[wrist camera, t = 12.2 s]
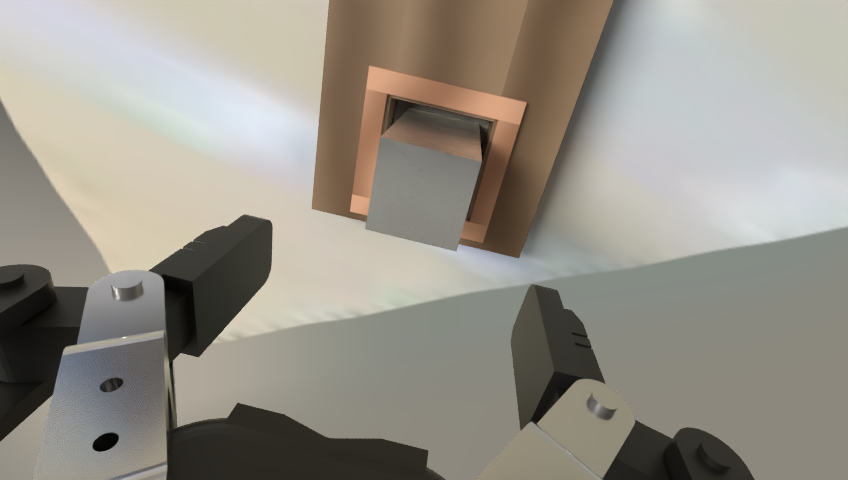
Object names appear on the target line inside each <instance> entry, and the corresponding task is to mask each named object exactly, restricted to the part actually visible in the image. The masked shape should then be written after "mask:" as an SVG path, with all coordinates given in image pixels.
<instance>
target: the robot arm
mask: <svg viewBox="0 0 848 480" xmlns="http://www.w3.org/2000/svg"><path fill="white" fill-rule="evenodd" d="M271 262H272V223H271V221H270V220H266V219H262V218H258V217H254V216H249V215H243V216H241V217H240V218H238V219H237V220H235V221H234V222H233V223H231V224H230V225H229V226H227V227H226V226H221V227H218V228H215V229H212V230H209V231H206V232H204V233H203V234H201V235H200V236H198V237H197V238H196V239H194V241H193V242H190V243H188V244H187V245H185V246H184V247H183V249H179V250H178V251H177V252H175V253H174V254H172V255H171V256H169V257H168V258H166V259H165V260H163V261H162V262H161V263H159V264H158V265H156V266H155V267H153V268H152V269H150V270H149V271H144V270H128V271H121V272H116V273H113V274H110V275H107V276H104V277H103V278H100V279H99V280H97V281H96V282H94V283H93V284H92V285H91V286H90V287H89V288H87V287H54V285H53V281H52V278H51V274H50V272H49V271H48V270H47V269H45V268H43V267H40V266H36V265H25V264H24V265H8V266H2V267H0V441H1V440H2V439H4V438H5V437H6V436H7V435H8V434H9V433H10V432H11V431H12V430H14V429H15V428H16V427H17V426H18V425H19V424H20V423H21V422H23V421H24V420H25V419H26V418H27V417H28V416H29V415H30V414H32V413H33V412H34V411H35V410H36V409H37V408H38V407H39V406H41V405H42V404H43V403H44V402H45V401H46V400H47V399H48V398H49V397H51V396H52V395H53V396H52V400H51V404H50V409H49V413H48V418H47V421H46V426H45V430H44V434H43V438H42V442H41V447H40V451H39V456H38V460H37V464H36V468H35V473H34V476H33V480H445V479H444V478H443V477H441V476H440V475H438V474H437V473H436V472H434V471H433V470H431V469H429V468H427V467H426V466H427V457H428V450H424V449H420V448H416V447H412V446H408V445H404V444H400V443H396V442H392V441H388V440H384V439H334V438H333V439H332V438H327V437H325V436H323V435H321V434H319V433H317V432H315V431H313V430H312V429H309V428H308V427H306V426H304V425H302V424H300V423H299V422H297V421H295V420H293V419H291V418H290V417H288V416H286V415H284V414H280V413H276V412H272V411H268V410H264V409H260V408H256V407H252V406H248V405H244V404H240V403H237V405H236V406H235V408H234V409H233V411H232V412H231V414H230V415H229V416H228V418H219V419H209V420H203V421H198V422H194V423H191V424H187V425H184V426H181V427H178V428H177V413H176V394H175V375H174V363H173V360H174V359H175V358H176V357H177V356H178V355H179V354H180V353H184V354H187V355H192V356H195V357H199V356H200V355H201V354H202V353H203V352H204V351H205V350H206V348H207V347H208V346H209V345H210V344H211V343H212V342H213V341H214V340H215V338H216V337H217V336H218V335H219V334H220V333H221V332H222V331H223V330H224V328H225V327H226V326H227V325H228V324H229V323H230V322H231V321H232V319H233V318H234V317H235V316H236V315H237V314H238V313H239V312H240V311H241V309H242V308H243V307H244V306H245V305H246V304H247V303H248V302H249V300H250V299H251V298H252V297H253V296H254V295H255V294H256V293H257V292H258V290H259V289H260V288H261V287H262V286H263V285H264V284H265V282H266V280H267V279H268V276H269V274H270V270H271ZM511 348H512V356H513V366H514V375H515V384H516V393H517V402H518V411H519V420H520V429H521V431H520V433H519V434H518V435H517V436H516V437H515V438H514V439H513V440H512V441H511V442H510V443H509V444H508V445H507V446H506V447H505V448H504V449H503V450H502V452H501V453H500V454H499V455H498V456H497V457H496V458H495V459H494V460H493V461H492V462H491V463H490V464H489V465H488V467H486V468H485V470H484V471H483V472H482V473H481V474H480V475H479V476H478V477H477V478H476V479H475V480H754V478H753V476H752V475H751V473H750V471H749V470H748V468H747V466H746V465H745V464H744V462H743V461H742V459H741V458H740V457H739V456H738V455H737V454H736V453H735V452H734V451H733V450H732V449H731V448H730V447H729V446H728V445H726V444H725V443H724V442H722V441H721V440H719V439H718V438H716V437H715V436H713V435H711V434H709V433H707V432H705V431H702V430H699V429H695V428H683V429H680V430H679V431H678V432H677V434H676V435H675V436H674V438H673V439H671V438H670V437H667V436H666V435H664V434H662V433H659V432H658V431H656V430H654V429H652V428H650V427H647V426H645V425H644V424H642V423H640V422H638V421H636V420H635V415H634V412H633V410H632V408H631V406H630V404H629V403H628V402H627V400H626V399H625V398H624V397H623V396H622V395H621V394H620V393H618V392H617V391H616V390H614V389H613V388H611V387H610V386H608V385H606V384H605V381H604V379H603V376H602V373H601V371H600V368H599V365H598V363H597V360H596V357H595V355H594V352H593V350H592V349H591V344H590V341H589V339H588V338H587V333H586V331H585V328H584V325H583V323H582V322H581V321H580V320H579V318H578V317H577V316H576V315H575V314H574V313H573V311H572V310H568V309H564V308H563V305H562V302H561V299H560V296H559V293H558V291H557V290H555V289H551V288H546V287H542V286H538V285H534V284H532V285H531V286H530V287H529V289H528V291H527V294H526V296H525V299H524V301H523V304H522V306H521V309H520V311H519V314H518V316H517V319H516V322H515V324H514V328H513V331H512V338H511Z"/></svg>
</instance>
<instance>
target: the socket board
mask: <svg viewBox="0 0 848 480" xmlns="http://www.w3.org/2000/svg"><path fill="white" fill-rule="evenodd" d="M612 3H613V0H329V9H328V21H327V33H326V45H325V57H324V69H323V81H322V93H321V104H320V116H319V128H318V140H317V152H316V164H315V176H314V188H313V200H312V209H315V210H319V211H323V212H327V213H331V214H336V215H340V216H344V217H348V218H352V219H357V220H361V221H365V222H367V215H368V209H369V203H370V197H371V191H372V184H373V178H374V172H375V166H376V160H377V153H378V147H379V141H380V137H381V136H382V135H383V134H384V133H385V132H386V131H387V130H388V129H389V128H390V127H391V126H392V125H393V122H394V116H395V110H396V104H397V99H399V100H404V101H408V102H412V103H416V104H421V105H425V106H429V107H433V108H438V109H442V110H446V111H450V112H455V113H459V114H463V115H467V116H472V117H476V118H480V119H484V120H489V121H490V124H489V128H488V132H487V135H486V139H485V142H484V146H483V150H482V153H481V155H482V163H481V167H480V170H479V174H478V177H477V181H476V184H475V188H474V191H473V195H472V198H471V202H470V205H469V209H468V212H467V216H466V219H465V223H464V226H463V230H462V233H461V237H460V240H459V243H458V244H462V245H466V246H470V247H474V248H478V249H483V250H487V251H491V252H495V253H499V254H504V255H508V256H512V257H516V258H519V257H520V254H521V251H522V248H523V246H524V243H525V240H526V237H527V235H528V232H529V229H530V227H531V224H532V221H533V218H534V216H535V213H536V210H537V207H538V205H539V202H540V199H541V197H542V194H543V191H544V188H545V186H546V183H547V180H548V178H549V175H550V172H551V169H552V167H553V164H554V161H555V158H556V156H557V153H558V150H559V148H560V145H561V142H562V139H563V137H564V134H565V131H566V128H567V126H568V123H569V120H570V118H571V115H572V112H573V109H574V107H575V104H576V101H577V98H578V96H579V93H580V90H581V88H582V85H583V82H584V79H585V77H586V74H587V71H588V69H589V66H590V63H591V60H592V58H593V55H594V52H595V49H596V47H597V44H598V41H599V39H600V36H601V33H602V30H603V28H604V25H605V22H606V19H607V17H608V14H609V11H610V9H611V6H612Z"/></svg>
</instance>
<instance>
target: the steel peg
mask: <svg viewBox="0 0 848 480" xmlns="http://www.w3.org/2000/svg"><path fill="white" fill-rule="evenodd" d="M481 163H482V155H481V142H480V129H479V124H476V123H472V122H468V121H464V120H459V119H455V118H451V117H447V116H443V115H439V114H435V113H430V112H426V111H422V110H418V109H414V108H409V109H408V110H407V111H406V112H405V113H404V114H403V115H402V116H401V117H400V118H399V119H398V120H397V121H396V122H395V123H394V124H393V125H392V126H391V127H390V128H389V129H388V130H387V131H386V132H385V133H384V134H383V135H382V136H381V137H380V141H379V147H378V153H377V160H376V166H375V172H374V178H373V184H372V191H371V197H370V203H369V209H368V215H367V222H366V228H365V229H367V230H371V231H375V232H379V233H383V234H387V235H391V236H396V237H400V238H404V239H408V240H412V241H416V242H420V243H424V244H429V245H433V246H437V247H441V248H445V249H449V250H453V251H456V250H457V247H458V243H459V240H460V237H461V233H462V230H463V226H464V223H465V219H466V216H467V212H468V209H469V205H470V202H471V198H472V195H473V191H474V188H475V184H476V181H477V177H478V174H479V170H480V167H481Z"/></svg>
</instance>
